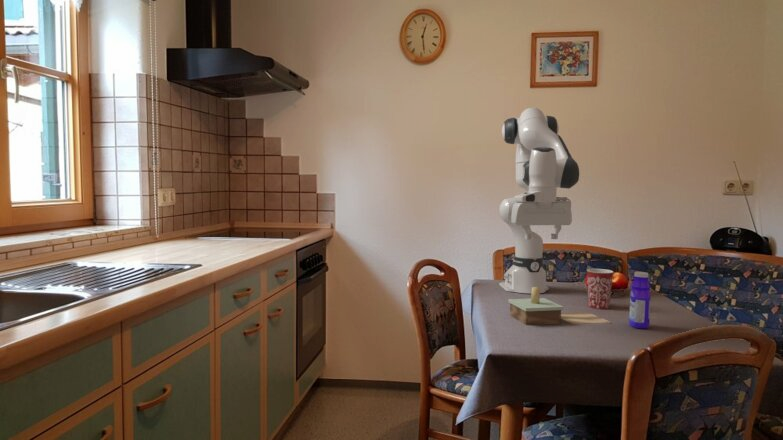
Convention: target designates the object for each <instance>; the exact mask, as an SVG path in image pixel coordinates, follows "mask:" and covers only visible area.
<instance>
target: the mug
mask: <svg viewBox="0 0 783 440" xmlns="http://www.w3.org/2000/svg"><path fill="white" fill-rule="evenodd" d="M614 273H615V272H614V271H613V270H611V269H604V268H588V269H587V299H588V300H587V305H588V306H587V307H589V308H591V309H596V310H607V309H610V301H611V294H612V286H613V285H612V284H613V277H614V276H613V275H614Z"/></svg>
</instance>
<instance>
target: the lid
mask: <svg viewBox="0 0 783 440" xmlns="http://www.w3.org/2000/svg"><path fill="white" fill-rule="evenodd" d="M530 295H531V296H530V297H531V298H530V297H529V298H510V299H509V298H508V299H507V300H508V303H509V304H510V303H511V304H513V305H515V306H516V307H518V308H520V309H522V310H524V311H548V310H561V311H564V306H563V305H561V304H558V303H556V302H553V301H552V300H550V299H547V298H545V297H541V293H540V288H539V287H532V293H531V294H530Z"/></svg>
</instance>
